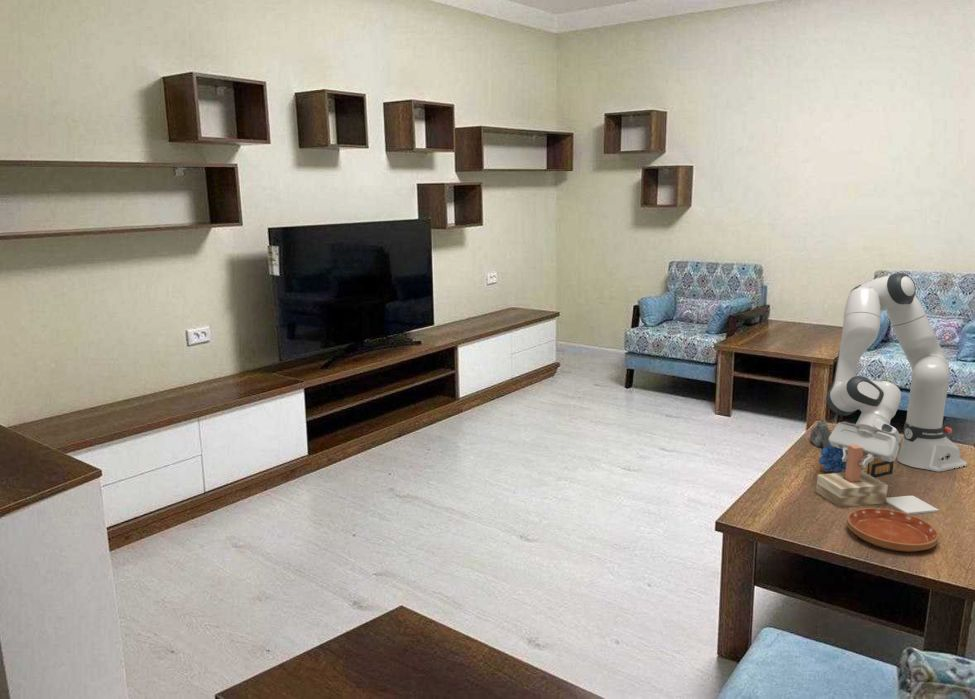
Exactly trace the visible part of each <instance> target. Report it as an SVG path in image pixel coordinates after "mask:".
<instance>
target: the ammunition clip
mask: <svg viewBox="0 0 975 699" xmlns="http://www.w3.org/2000/svg"><path fill="white" fill-rule="evenodd" d="M894 461H895V460H894ZM894 461H892V462H888V461H885V460H881V459H877V458H874V460H873V461H871V462H870V463H868V464H867V470H866V473H867V474H869V475H870V476H872V477H874V478H876V479H877V478H880V477H885V476H888V475H892V474H893V470H894Z"/></svg>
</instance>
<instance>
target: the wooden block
mask: <svg viewBox="0 0 975 699" xmlns="http://www.w3.org/2000/svg"><path fill="white" fill-rule="evenodd" d="M861 460H863V448H862V447H860V446H858V445H848V454H847V464H846V470H845V472H846V473H845V480H847V481H848V482H850V483H854V482H860V473H861V471H862V467H860V465H859V463H860V461H861Z"/></svg>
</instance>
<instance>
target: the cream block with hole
mask: <svg viewBox="0 0 975 699" xmlns="http://www.w3.org/2000/svg"><path fill="white" fill-rule="evenodd" d="M845 473H846V471H845V472H841V473H834V472H832V473H822V474H817V478H816V479H817V480H816V489H815V493H817V494H818V495H819V496H821V497H823V498H824V499H826V500H828V501H829V502H831V503H832V504H833V505H835V506H837V507H838V508H845V507H846V508H847V507H858V506H861V507H862V506H869V505H881V504H887V503H886V498H888V496H887V495H888V487H889V485H888V484H887V483H885V482H882V480H879V479H877V477H876V478H874V477H872V476H870V475H869V474H867V472H864V471H863V470H861V473H860V482H854V483H850V482H848V481H847V480H845Z"/></svg>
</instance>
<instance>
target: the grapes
mask: <svg viewBox="0 0 975 699" xmlns="http://www.w3.org/2000/svg"><path fill="white" fill-rule="evenodd" d="M847 454H848V453H847ZM820 455H821V456H820V457H819V458H818V463H819V464H820V465H823V470H824V471H825V472H831V471H832V473H842V471H843V470H844V471H846V464H847V463H846V462H843V461H842V457H843V449H840V448H837V447H833V446H831V444H830V443H829V444H828V448H823V447H822V448H821V449H820Z"/></svg>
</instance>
